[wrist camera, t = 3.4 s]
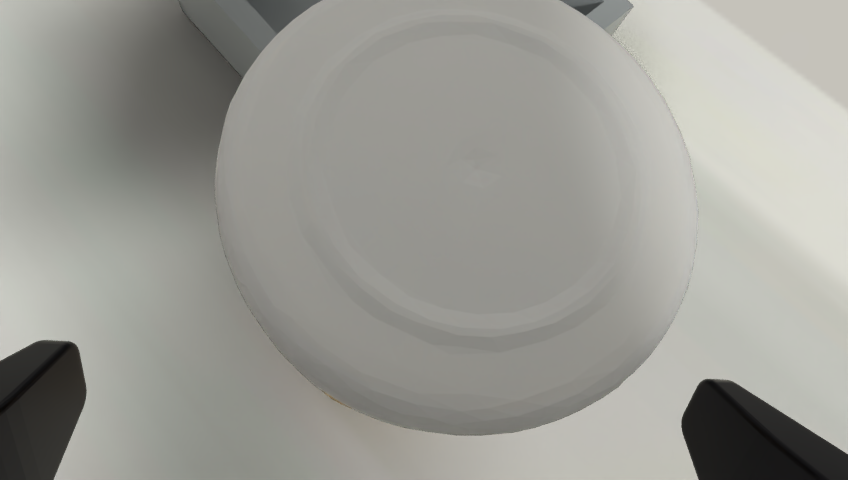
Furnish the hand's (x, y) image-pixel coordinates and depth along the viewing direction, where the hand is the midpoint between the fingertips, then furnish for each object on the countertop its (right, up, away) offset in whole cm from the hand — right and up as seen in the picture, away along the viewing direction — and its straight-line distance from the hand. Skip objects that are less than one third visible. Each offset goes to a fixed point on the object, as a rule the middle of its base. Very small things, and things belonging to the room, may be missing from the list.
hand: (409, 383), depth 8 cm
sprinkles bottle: (-1, -1, +10) cm, 10 cm away
